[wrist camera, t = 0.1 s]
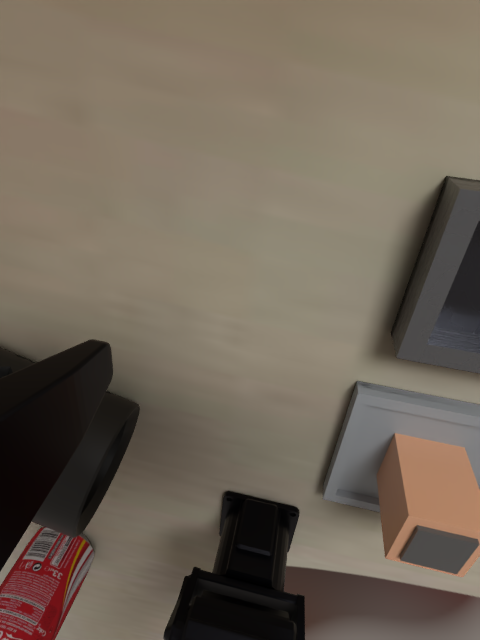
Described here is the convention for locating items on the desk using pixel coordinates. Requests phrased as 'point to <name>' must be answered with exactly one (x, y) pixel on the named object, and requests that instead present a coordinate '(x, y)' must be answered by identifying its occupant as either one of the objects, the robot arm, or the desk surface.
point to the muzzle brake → (84, 460)
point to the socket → (445, 285)
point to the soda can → (43, 585)
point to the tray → (378, 430)
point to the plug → (429, 505)
